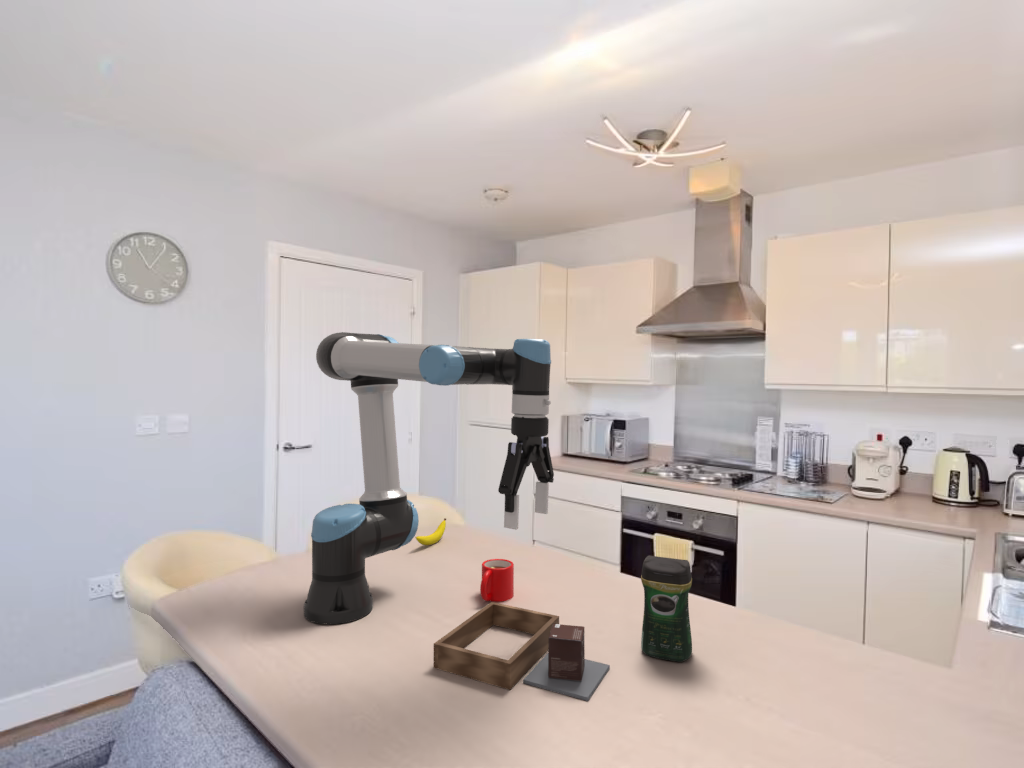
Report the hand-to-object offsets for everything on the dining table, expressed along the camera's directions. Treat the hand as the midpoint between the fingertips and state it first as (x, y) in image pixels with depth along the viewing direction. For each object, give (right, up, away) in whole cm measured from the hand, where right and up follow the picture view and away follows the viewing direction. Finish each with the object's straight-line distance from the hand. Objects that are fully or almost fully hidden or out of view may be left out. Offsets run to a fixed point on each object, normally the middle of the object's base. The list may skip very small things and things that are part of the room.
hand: (526, 520), depth 115 cm
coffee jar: (+27, -25, -4) cm, 37 cm away
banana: (-29, -24, +67) cm, 76 cm away
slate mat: (+7, -25, -13) cm, 29 cm away
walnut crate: (-5, -25, -4) cm, 26 cm away
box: (+7, -25, -12) cm, 28 cm away
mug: (-7, -25, +23) cm, 35 cm away
